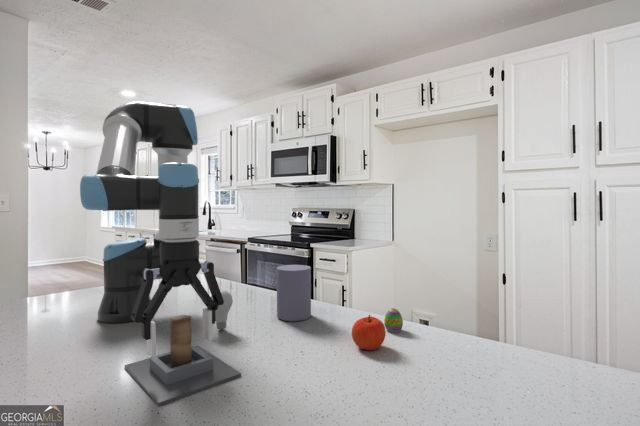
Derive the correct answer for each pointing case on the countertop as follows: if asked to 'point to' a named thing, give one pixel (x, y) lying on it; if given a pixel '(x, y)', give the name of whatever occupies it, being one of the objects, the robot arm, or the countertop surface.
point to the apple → (368, 333)
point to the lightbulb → (223, 310)
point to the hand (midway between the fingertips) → (181, 346)
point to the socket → (180, 375)
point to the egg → (393, 320)
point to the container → (293, 292)
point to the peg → (180, 340)
